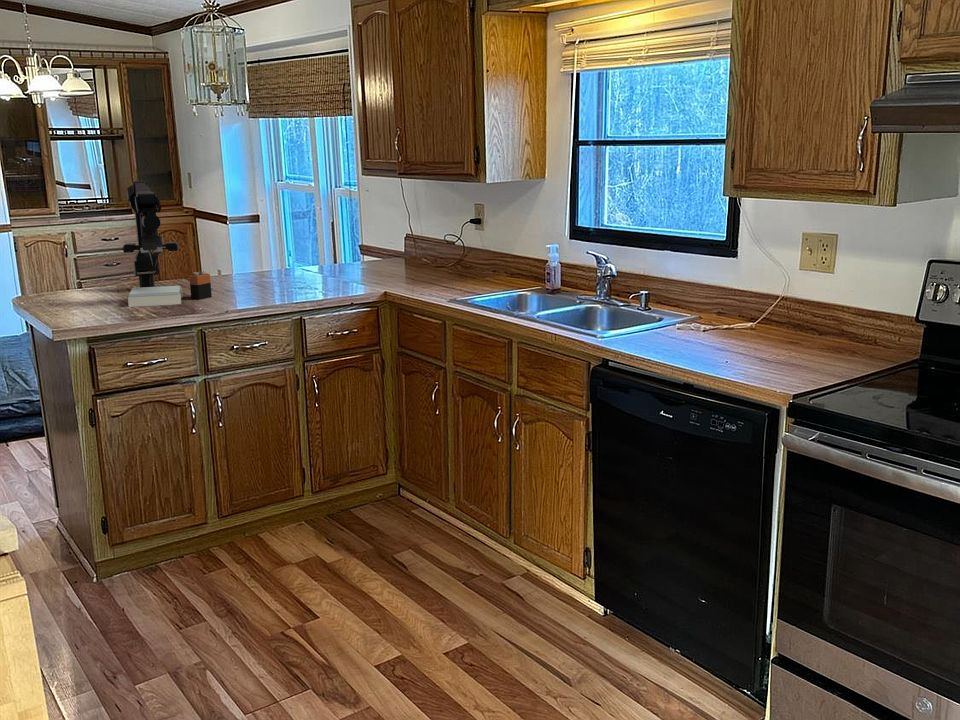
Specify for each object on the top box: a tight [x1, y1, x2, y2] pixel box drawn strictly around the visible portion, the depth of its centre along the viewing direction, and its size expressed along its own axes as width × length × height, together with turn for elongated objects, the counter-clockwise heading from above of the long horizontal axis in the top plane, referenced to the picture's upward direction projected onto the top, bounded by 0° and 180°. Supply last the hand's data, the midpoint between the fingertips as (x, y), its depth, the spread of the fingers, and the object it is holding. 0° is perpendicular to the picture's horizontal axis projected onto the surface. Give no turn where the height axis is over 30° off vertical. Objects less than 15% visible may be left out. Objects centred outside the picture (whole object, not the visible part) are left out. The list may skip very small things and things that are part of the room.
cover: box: [128, 285, 181, 297], centre depth 320 cm, size 14×17×1 cm
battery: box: [188, 271, 212, 300], centre depth 327 cm, size 4×7×10 cm, turn 151°
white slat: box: [127, 287, 183, 308], centre depth 320 cm, size 14×18×4 cm
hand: (153, 270), depth 318 cm, fingers closed
